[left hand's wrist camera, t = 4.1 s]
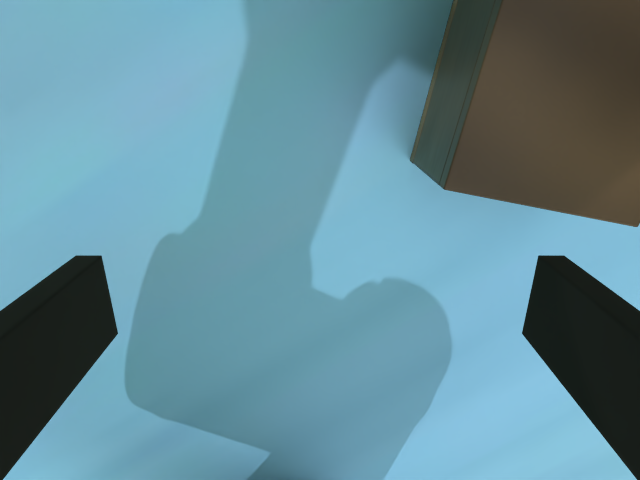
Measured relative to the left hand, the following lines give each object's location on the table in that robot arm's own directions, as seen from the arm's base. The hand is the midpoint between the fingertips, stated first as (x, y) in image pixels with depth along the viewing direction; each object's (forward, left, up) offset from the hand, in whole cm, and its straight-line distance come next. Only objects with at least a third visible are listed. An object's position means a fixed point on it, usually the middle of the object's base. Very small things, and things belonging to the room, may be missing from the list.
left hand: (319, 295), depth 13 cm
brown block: (-4, -15, -18) cm, 24 cm away
